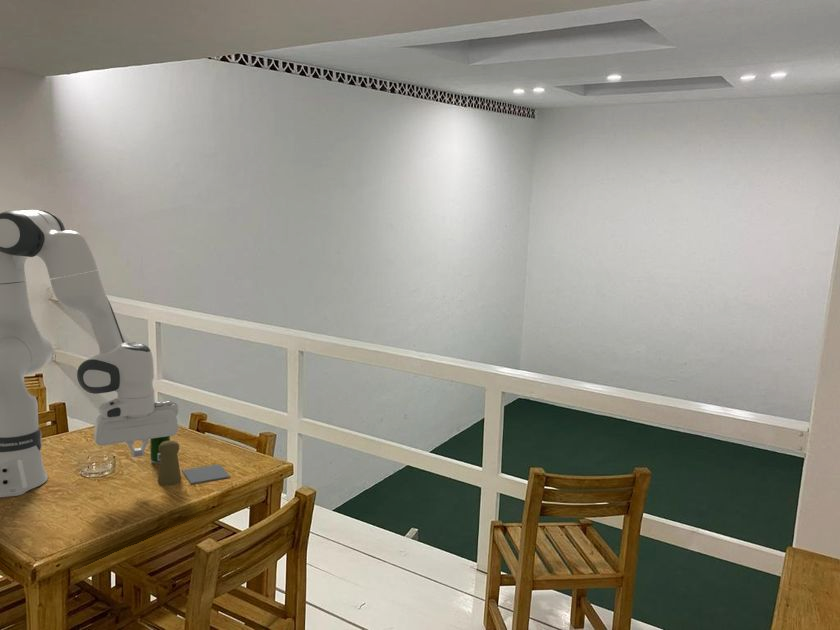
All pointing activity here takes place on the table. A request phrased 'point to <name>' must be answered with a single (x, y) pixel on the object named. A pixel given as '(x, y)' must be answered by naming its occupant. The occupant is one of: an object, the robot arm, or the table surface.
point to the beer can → (156, 448)
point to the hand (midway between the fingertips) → (137, 455)
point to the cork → (169, 463)
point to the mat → (205, 474)
